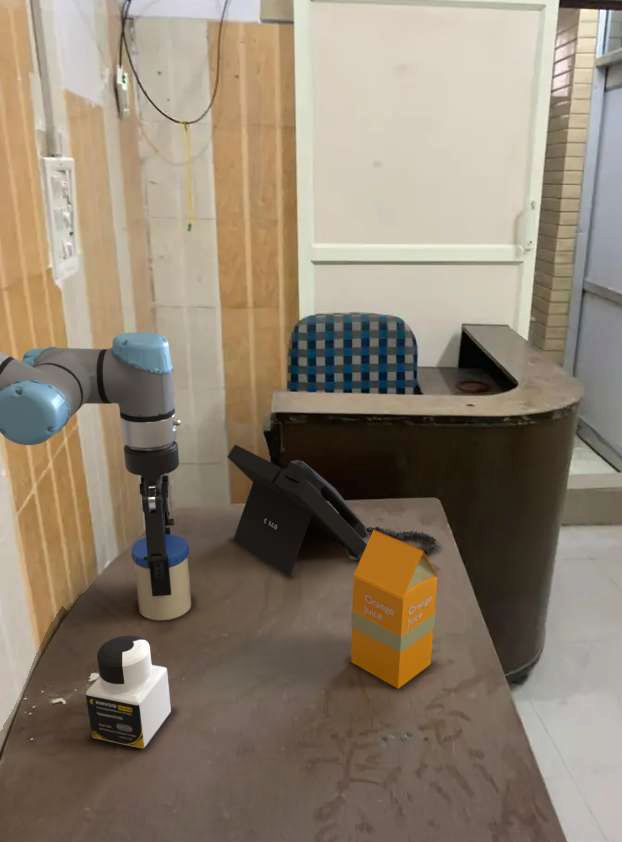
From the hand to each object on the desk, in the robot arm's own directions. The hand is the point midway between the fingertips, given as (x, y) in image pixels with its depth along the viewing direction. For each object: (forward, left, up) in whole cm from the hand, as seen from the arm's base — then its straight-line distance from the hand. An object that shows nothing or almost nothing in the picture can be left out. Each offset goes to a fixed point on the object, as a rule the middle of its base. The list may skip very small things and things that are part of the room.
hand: (163, 579), depth 118 cm
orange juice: (+32, -20, -5) cm, 38 cm away
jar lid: (0, 0, +5) cm, 5 cm away
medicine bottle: (-3, -27, -5) cm, 28 cm away
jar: (0, 0, -5) cm, 5 cm away
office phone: (+30, +17, -5) cm, 35 cm away
